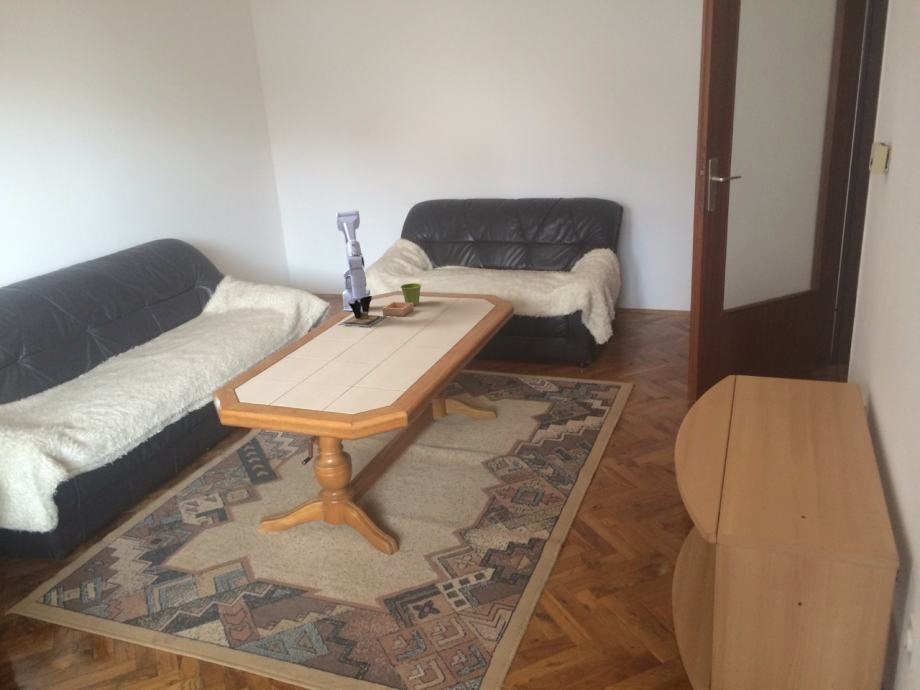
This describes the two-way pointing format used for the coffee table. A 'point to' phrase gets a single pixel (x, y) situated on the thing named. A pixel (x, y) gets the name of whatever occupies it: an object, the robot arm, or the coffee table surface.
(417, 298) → the plant pot
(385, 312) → the dish
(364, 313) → the lid
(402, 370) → the coffee table surface
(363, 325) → the mat
